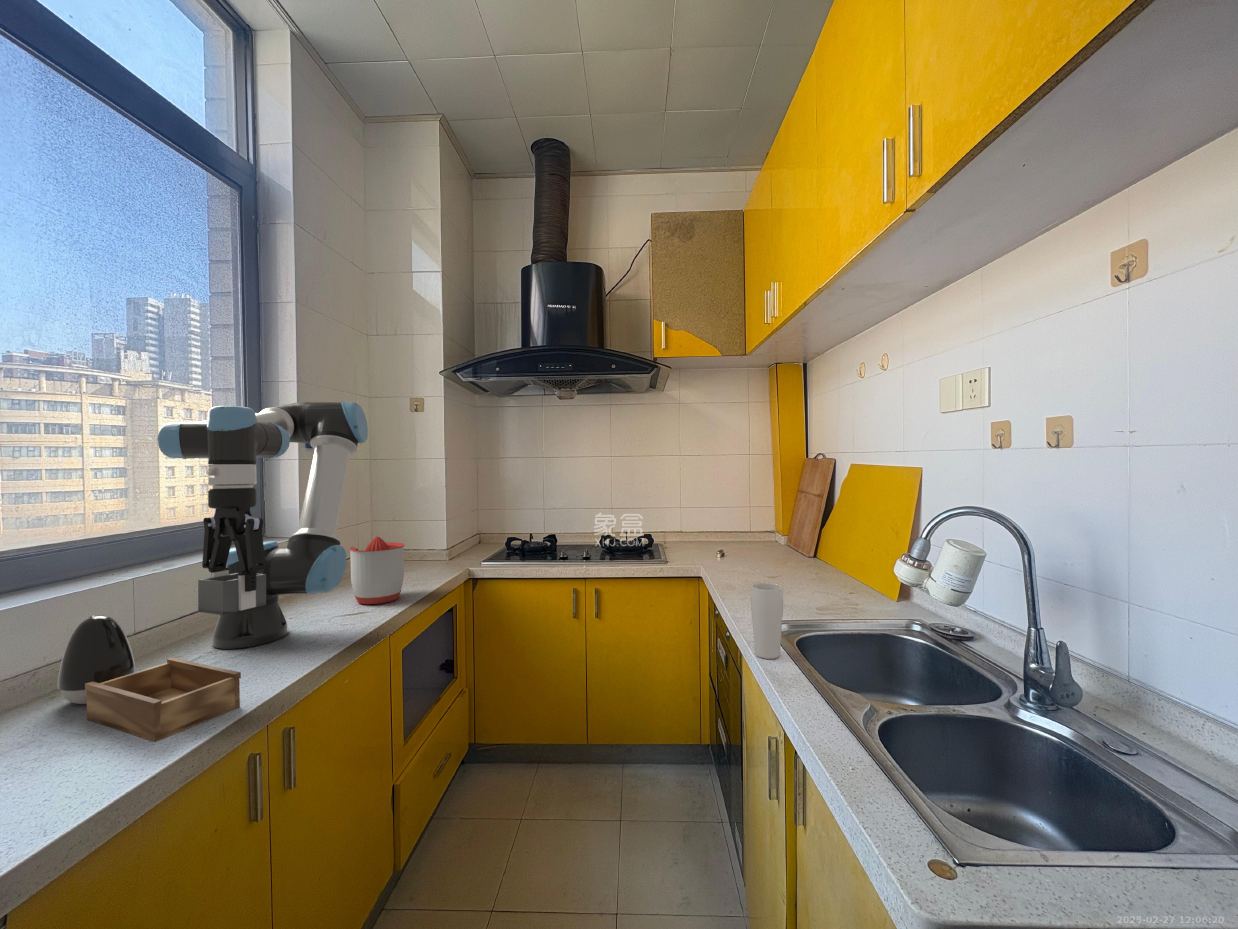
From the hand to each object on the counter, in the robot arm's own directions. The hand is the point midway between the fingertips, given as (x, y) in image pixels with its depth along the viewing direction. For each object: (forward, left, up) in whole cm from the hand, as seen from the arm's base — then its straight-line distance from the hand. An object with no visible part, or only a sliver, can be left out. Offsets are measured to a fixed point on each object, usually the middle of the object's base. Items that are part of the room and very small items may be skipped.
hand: (233, 606), depth 102 cm
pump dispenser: (+12, -19, -16) cm, 28 cm away
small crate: (0, 0, 0) cm, 0 cm away
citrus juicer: (-58, -26, -16) cm, 65 cm away
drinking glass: (-53, +93, -16) cm, 108 cm away
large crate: (+11, 0, -16) cm, 19 cm away
